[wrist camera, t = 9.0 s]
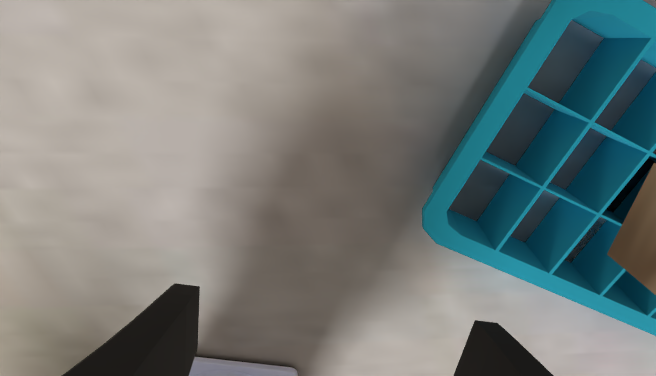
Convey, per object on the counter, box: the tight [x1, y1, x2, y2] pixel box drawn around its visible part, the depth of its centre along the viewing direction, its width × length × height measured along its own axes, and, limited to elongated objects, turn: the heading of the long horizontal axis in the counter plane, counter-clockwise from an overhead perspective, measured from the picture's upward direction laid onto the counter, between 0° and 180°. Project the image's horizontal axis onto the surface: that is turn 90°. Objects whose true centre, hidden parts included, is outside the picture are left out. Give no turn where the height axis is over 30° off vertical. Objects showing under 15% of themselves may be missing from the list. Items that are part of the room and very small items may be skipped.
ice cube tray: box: [422, 0, 656, 336], centre depth 19 cm, size 12×20×3 cm, turn 65°
